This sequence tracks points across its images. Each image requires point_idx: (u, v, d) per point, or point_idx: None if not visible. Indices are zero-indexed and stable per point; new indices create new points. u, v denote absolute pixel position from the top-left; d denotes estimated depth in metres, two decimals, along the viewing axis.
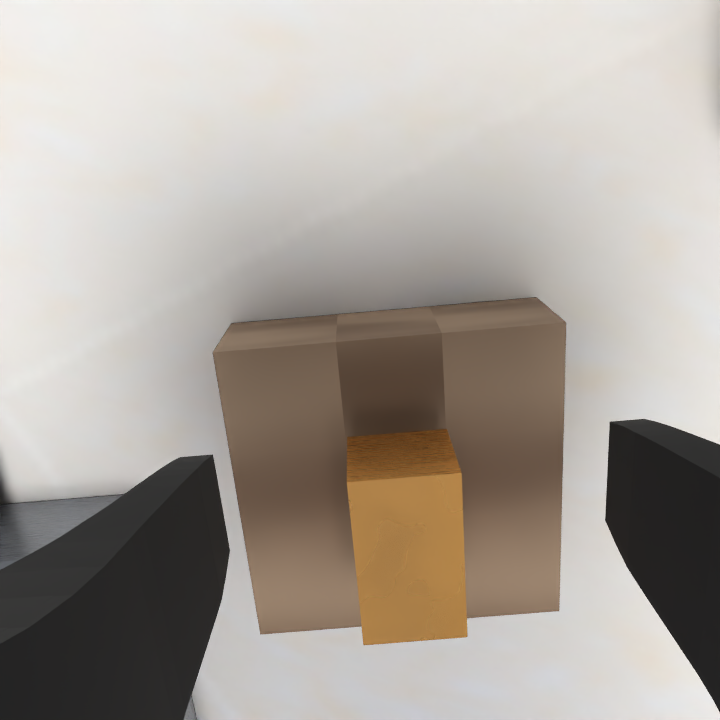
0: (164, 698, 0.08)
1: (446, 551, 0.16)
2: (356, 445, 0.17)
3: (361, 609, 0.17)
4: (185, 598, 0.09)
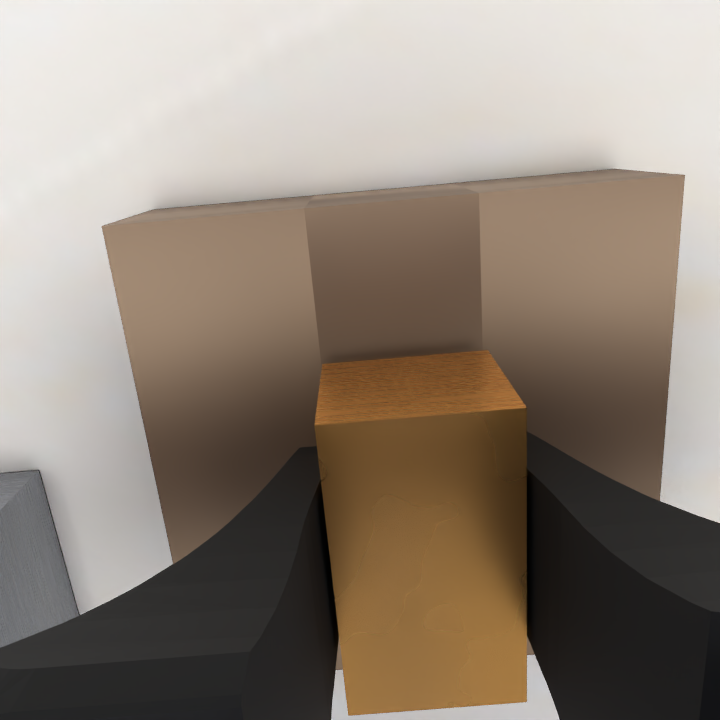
0: (323, 686, 0.08)
1: (495, 553, 0.09)
2: (337, 373, 0.10)
3: (343, 655, 0.10)
4: (328, 587, 0.09)
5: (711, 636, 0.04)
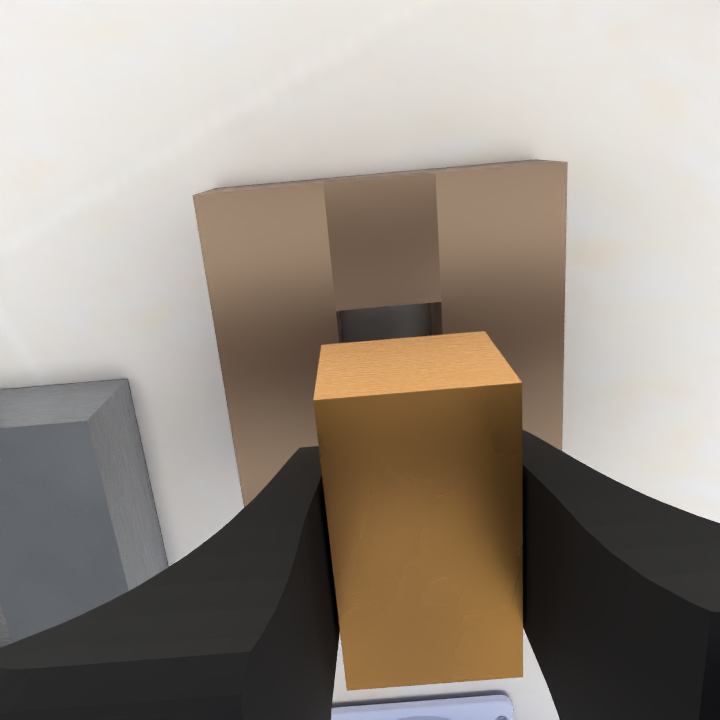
0: (323, 686, 0.08)
1: (491, 528, 0.09)
2: (336, 353, 0.10)
3: (342, 630, 0.10)
4: (328, 587, 0.09)
5: (711, 636, 0.04)
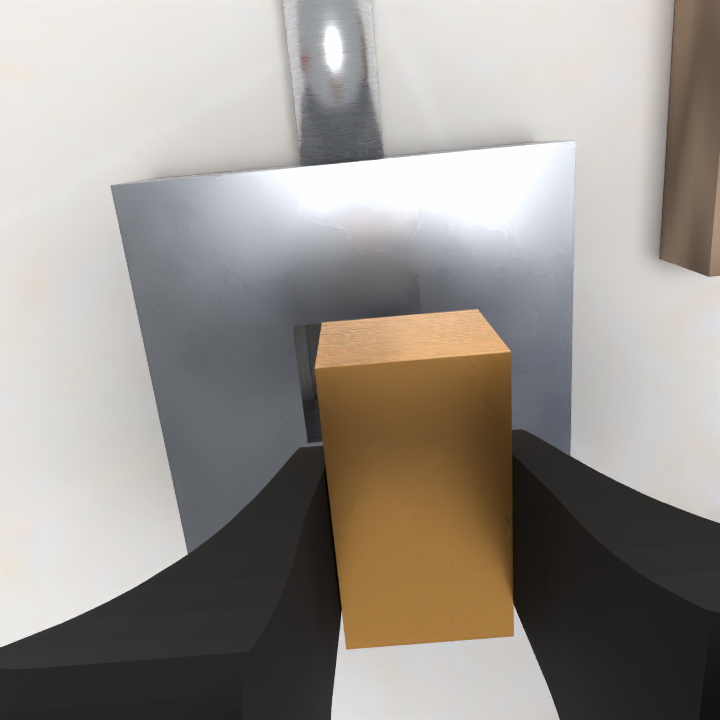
0: (323, 686, 0.08)
1: (483, 492, 0.10)
2: (336, 329, 0.11)
3: (342, 590, 0.10)
4: (328, 587, 0.09)
5: (712, 636, 0.04)
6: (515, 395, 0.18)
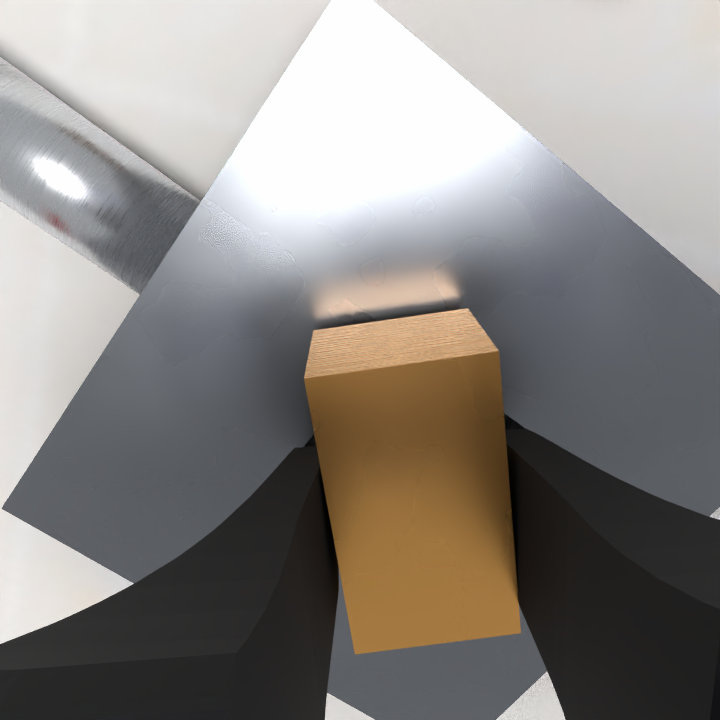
0: (317, 686, 0.08)
1: (480, 492, 0.10)
2: (326, 337, 0.11)
3: (346, 596, 0.10)
4: (322, 587, 0.09)
5: None
6: (590, 307, 0.12)
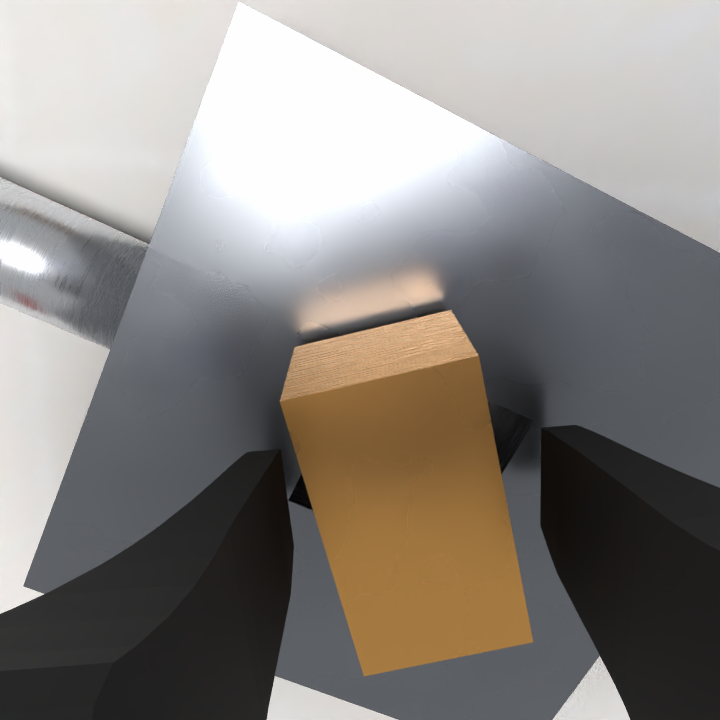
0: (254, 691, 0.08)
1: (475, 502, 0.09)
2: (307, 353, 0.11)
3: (348, 618, 0.10)
4: (266, 591, 0.09)
5: None
6: (563, 280, 0.11)
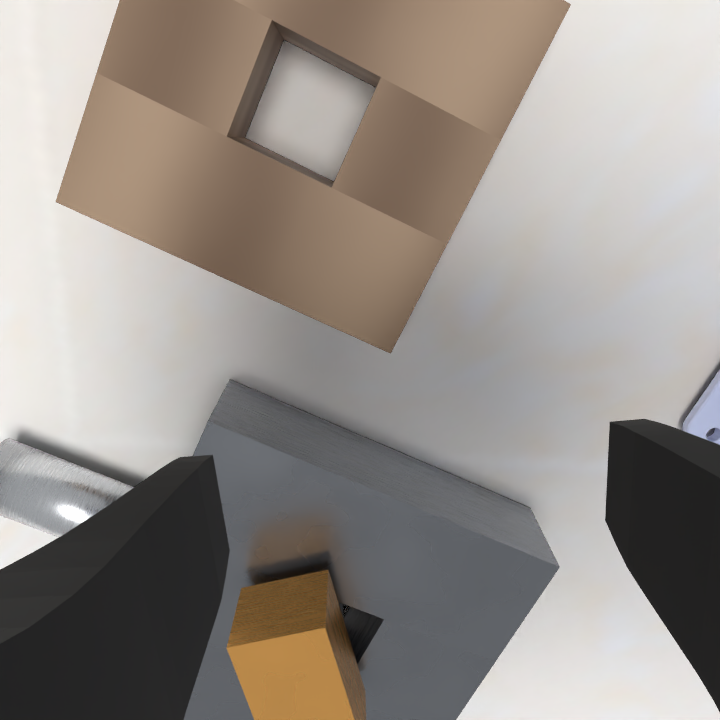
0: (164, 698, 0.08)
1: (329, 692, 0.18)
2: (246, 598, 0.19)
3: None
4: (185, 598, 0.09)
5: None
6: (393, 548, 0.20)
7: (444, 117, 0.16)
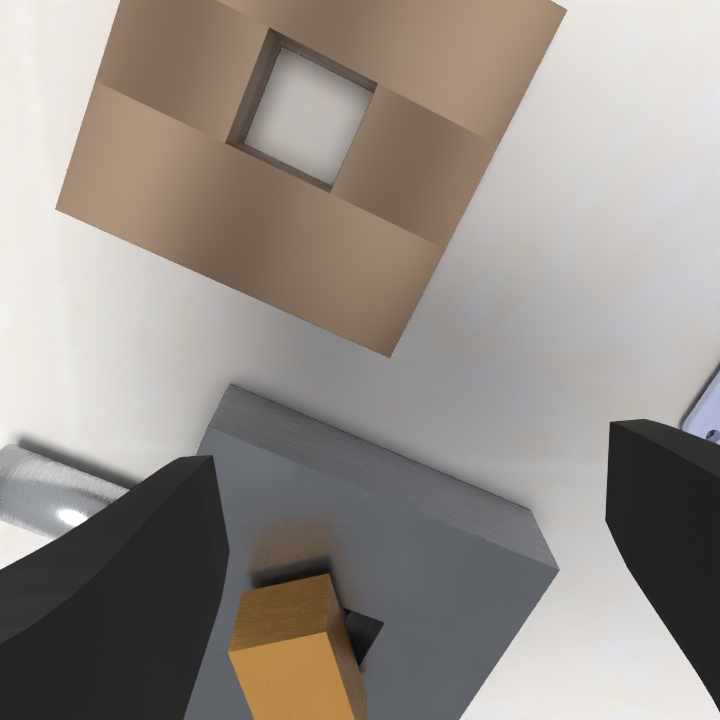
0: (164, 698, 0.08)
1: (330, 696, 0.18)
2: (247, 602, 0.19)
3: None
4: (185, 598, 0.09)
5: None
6: (394, 552, 0.20)
7: (441, 123, 0.16)
